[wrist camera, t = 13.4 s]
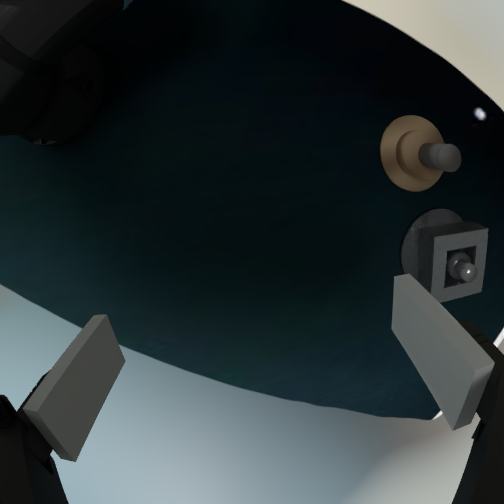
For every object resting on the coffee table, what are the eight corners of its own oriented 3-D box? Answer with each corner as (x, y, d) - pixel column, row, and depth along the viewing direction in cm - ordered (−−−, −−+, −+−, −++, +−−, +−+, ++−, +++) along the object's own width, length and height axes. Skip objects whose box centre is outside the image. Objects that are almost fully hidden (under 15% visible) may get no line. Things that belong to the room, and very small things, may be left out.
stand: (365, 141, 36) (394, 142, 27) (419, 102, 34) (456, 95, 25) (405, 205, 38) (439, 222, 30) (454, 164, 36) (494, 172, 28)
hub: (385, 241, 40) (417, 268, 31) (448, 191, 37) (489, 205, 28) (419, 301, 43) (449, 335, 34) (475, 254, 40) (511, 278, 31)
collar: (419, 228, 36) (434, 237, 32) (471, 220, 36) (488, 228, 32) (416, 291, 39) (429, 305, 35) (466, 280, 39) (481, 291, 35)
